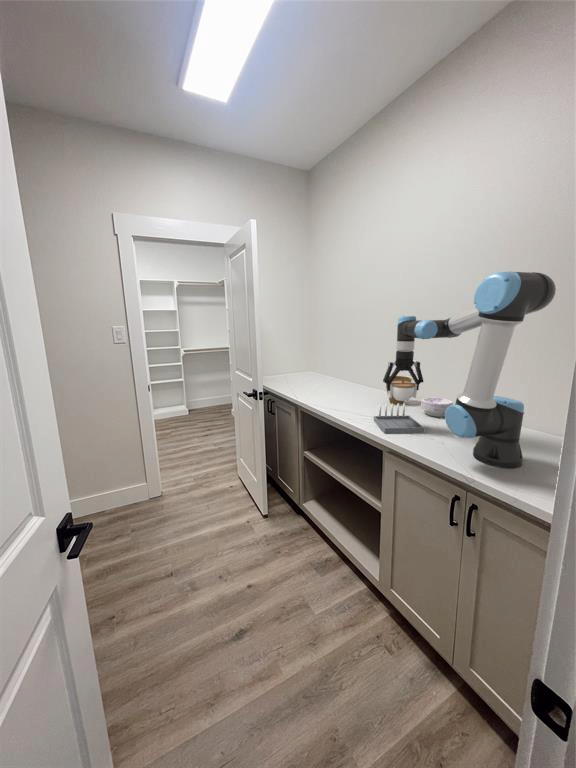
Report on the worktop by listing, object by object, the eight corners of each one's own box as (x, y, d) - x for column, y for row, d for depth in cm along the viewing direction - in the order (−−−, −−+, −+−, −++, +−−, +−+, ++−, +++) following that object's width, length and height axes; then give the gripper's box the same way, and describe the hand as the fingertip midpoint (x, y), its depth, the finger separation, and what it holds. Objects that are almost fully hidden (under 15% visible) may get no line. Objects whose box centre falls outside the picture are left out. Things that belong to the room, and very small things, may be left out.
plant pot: (403, 408, 179) (405, 381, 175) (379, 403, 189) (381, 378, 185) (413, 403, 189) (415, 377, 186) (390, 399, 199) (392, 374, 196)
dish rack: (424, 432, 140) (425, 414, 138) (384, 433, 140) (385, 414, 138) (408, 420, 158) (409, 403, 156) (373, 420, 158) (374, 403, 156)
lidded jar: (416, 402, 139) (417, 382, 137) (391, 401, 141) (392, 381, 139) (411, 396, 149) (413, 377, 147) (388, 396, 151) (389, 377, 149)
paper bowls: (440, 409, 175) (441, 396, 173) (458, 418, 160) (459, 403, 158) (415, 411, 173) (416, 397, 171) (430, 419, 158) (431, 404, 156)
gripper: (426, 349, 144) (423, 394, 148) (377, 350, 144) (375, 395, 148) (434, 350, 136) (430, 398, 141) (382, 351, 137) (379, 399, 141)
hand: (402, 397), depth 145 cm, fingers closed on lidded jar, 11 cm apart
